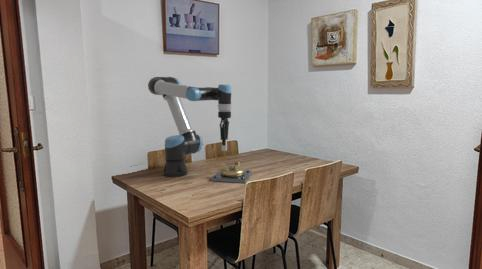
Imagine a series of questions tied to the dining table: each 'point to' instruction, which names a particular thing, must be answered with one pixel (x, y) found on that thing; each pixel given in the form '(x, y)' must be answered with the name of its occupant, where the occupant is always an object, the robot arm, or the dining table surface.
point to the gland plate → (239, 179)
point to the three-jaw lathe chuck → (232, 170)
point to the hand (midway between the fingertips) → (224, 150)
